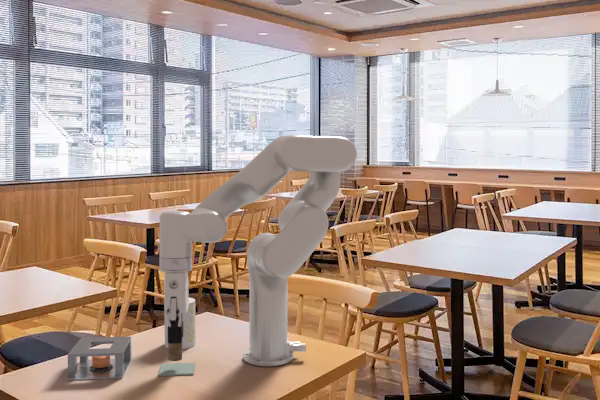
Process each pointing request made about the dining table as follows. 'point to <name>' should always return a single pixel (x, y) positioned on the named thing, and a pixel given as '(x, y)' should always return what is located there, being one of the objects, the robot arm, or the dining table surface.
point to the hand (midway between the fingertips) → (175, 339)
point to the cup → (185, 326)
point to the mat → (177, 369)
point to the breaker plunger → (100, 361)
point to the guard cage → (82, 350)
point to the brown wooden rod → (175, 348)
